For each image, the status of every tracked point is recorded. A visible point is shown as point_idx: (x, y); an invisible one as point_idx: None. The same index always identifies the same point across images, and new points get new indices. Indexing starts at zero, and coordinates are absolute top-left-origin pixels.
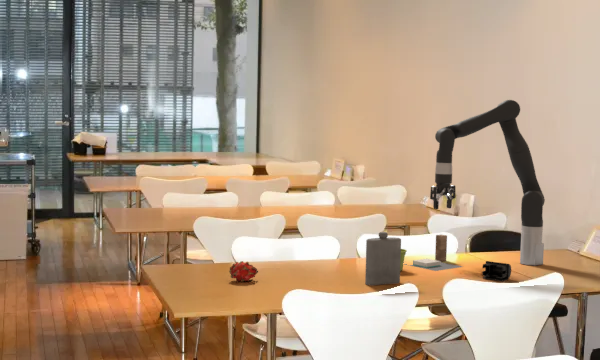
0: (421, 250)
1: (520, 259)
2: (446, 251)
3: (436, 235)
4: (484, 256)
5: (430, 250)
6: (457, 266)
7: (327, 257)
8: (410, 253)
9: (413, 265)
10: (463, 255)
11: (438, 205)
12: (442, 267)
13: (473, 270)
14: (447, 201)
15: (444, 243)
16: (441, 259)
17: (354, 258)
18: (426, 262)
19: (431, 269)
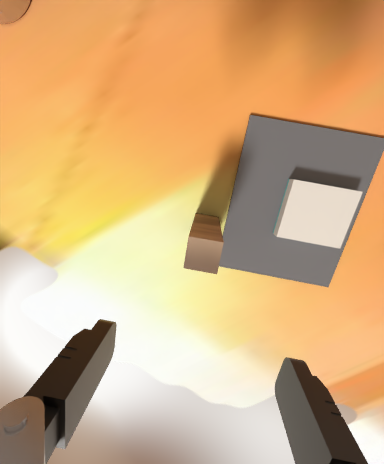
0: None
1: (14, 2)
2: (194, 219)
3: (217, 271)
4: (26, 181)
5: (80, 328)
6: (260, 132)
7: (356, 431)
8: (159, 339)
9: None
10: (66, 233)
11: (303, 390)
12: (312, 157)
13: (274, 58)
14: (78, 416)
15: (205, 229)
16: (216, 218)
17: None
18: (347, 199)
19: (371, 162)
